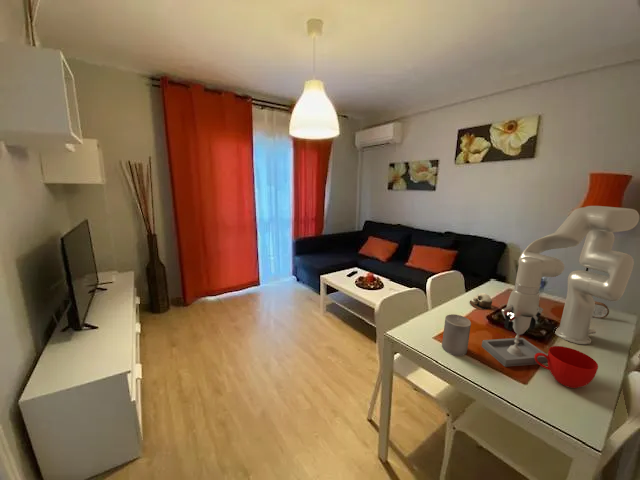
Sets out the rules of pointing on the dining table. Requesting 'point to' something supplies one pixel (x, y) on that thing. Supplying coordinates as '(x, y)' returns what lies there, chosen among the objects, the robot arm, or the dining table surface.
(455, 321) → the pillar candle
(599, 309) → the tin
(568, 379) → the ceramic cup
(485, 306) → the skull
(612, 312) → the dining table surface
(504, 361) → the tray
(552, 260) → the robot arm
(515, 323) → the chalice
